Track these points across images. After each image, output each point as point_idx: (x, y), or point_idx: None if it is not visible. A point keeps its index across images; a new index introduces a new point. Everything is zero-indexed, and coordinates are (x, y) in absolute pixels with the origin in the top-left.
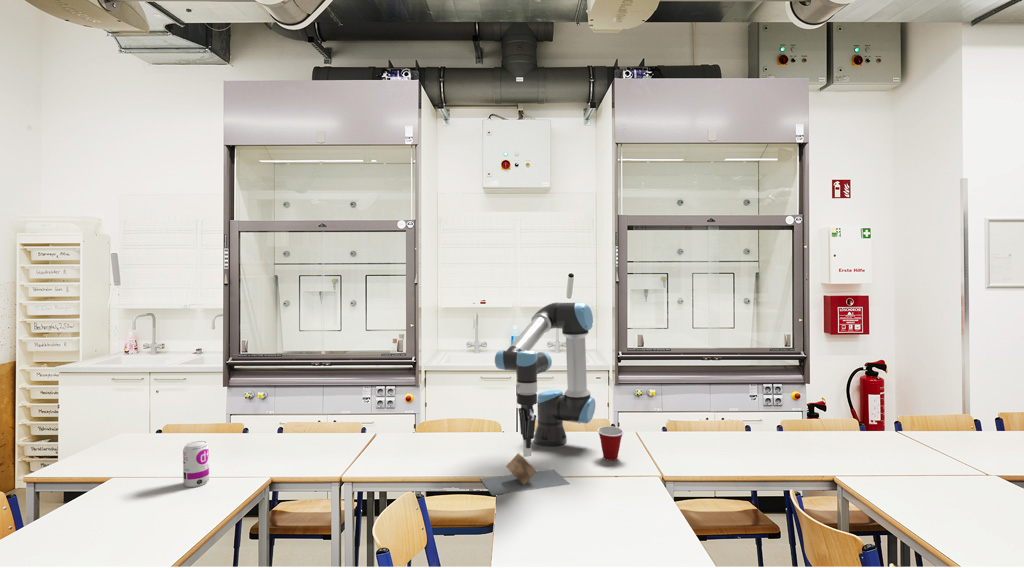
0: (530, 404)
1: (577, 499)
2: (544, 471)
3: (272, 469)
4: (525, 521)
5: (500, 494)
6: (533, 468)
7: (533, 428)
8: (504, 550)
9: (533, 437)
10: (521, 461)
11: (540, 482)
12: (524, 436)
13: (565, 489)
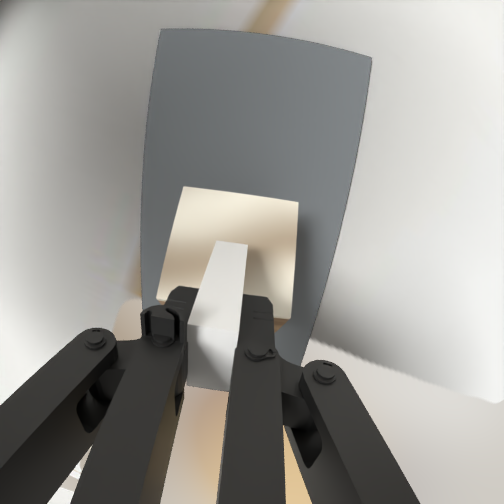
0: None
1: (484, 140)
2: (164, 79)
3: (61, 487)
4: (473, 346)
5: (304, 351)
6: (295, 230)
7: (401, 495)
8: (494, 397)
9: (345, 379)
10: (277, 322)
11: (287, 166)
12: (183, 389)
13: (401, 110)
